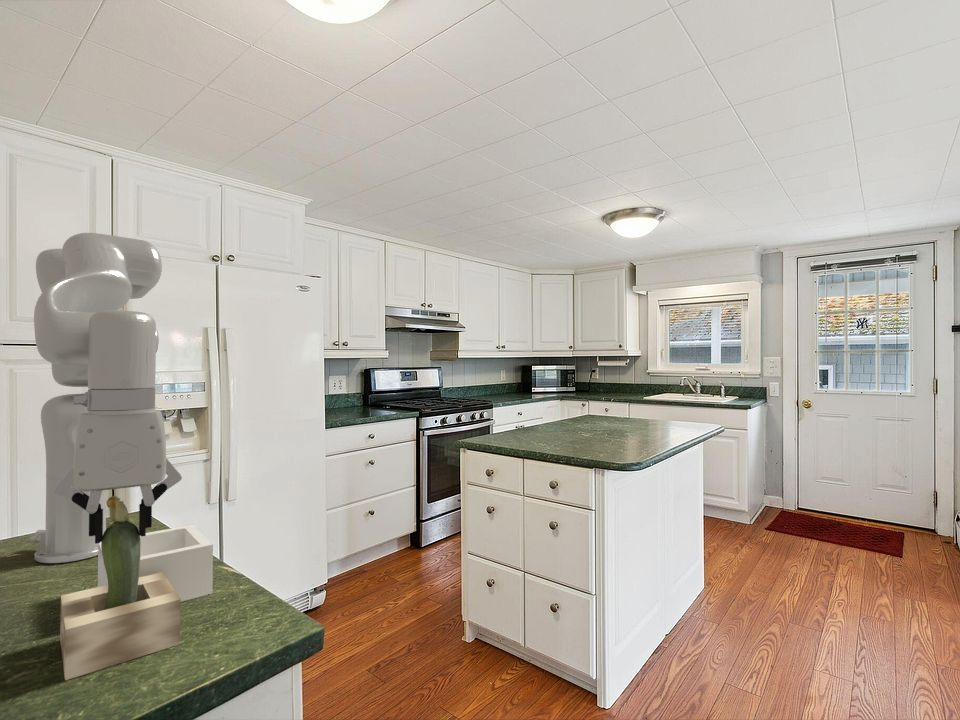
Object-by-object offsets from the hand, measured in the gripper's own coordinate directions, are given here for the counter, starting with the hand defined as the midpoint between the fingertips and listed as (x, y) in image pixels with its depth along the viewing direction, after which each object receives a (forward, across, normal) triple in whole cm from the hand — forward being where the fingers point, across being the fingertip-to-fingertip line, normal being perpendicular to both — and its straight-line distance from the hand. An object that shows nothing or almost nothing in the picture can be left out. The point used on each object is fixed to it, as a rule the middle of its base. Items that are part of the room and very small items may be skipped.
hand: (121, 535), depth 69 cm
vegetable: (+15, 0, 0) cm, 15 cm away
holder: (+14, 0, 0) cm, 14 cm away
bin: (+14, +4, +16) cm, 22 cm away
